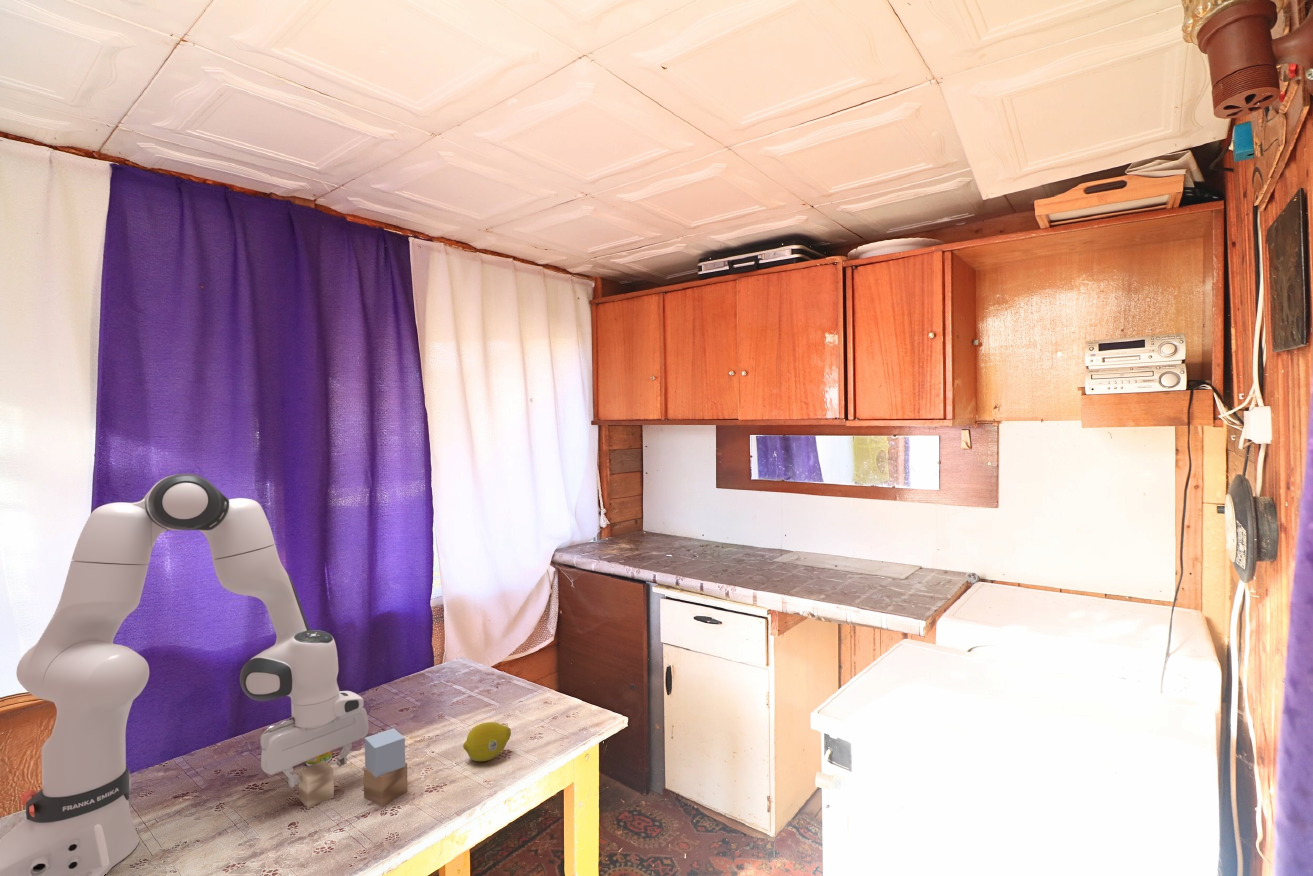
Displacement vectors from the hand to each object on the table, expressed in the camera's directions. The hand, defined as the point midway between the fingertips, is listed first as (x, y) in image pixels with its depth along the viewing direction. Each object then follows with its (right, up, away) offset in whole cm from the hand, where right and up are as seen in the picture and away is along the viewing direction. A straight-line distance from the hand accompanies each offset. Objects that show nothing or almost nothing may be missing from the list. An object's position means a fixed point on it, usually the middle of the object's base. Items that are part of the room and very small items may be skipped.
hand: (318, 774), depth 130 cm
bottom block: (+14, -4, 0) cm, 15 cm away
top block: (+14, +2, 0) cm, 14 cm away
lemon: (+32, -4, +14) cm, 35 cm away
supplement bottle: (-7, -4, +13) cm, 16 cm away
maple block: (0, -4, -1) cm, 4 cm away
